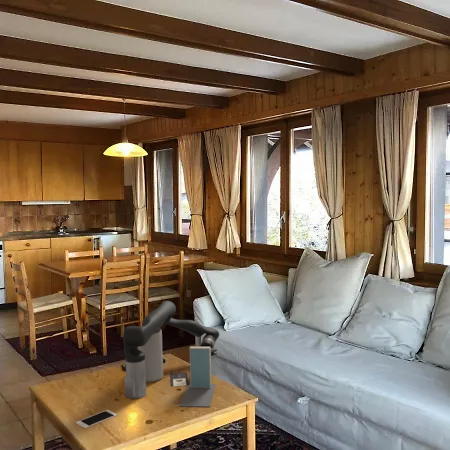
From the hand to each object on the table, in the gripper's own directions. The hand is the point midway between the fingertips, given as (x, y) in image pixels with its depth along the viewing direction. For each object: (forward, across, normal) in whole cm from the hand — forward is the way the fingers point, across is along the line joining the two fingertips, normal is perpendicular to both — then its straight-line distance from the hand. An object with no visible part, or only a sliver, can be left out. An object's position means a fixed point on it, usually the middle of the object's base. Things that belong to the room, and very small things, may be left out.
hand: (203, 357), depth 253 cm
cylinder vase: (-4, +28, -13) cm, 31 cm away
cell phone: (+44, +41, -13) cm, 61 cm away
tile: (+9, 0, -12) cm, 15 cm away
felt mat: (+17, 0, -12) cm, 21 cm away
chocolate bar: (-1, +13, -13) cm, 19 cm away
